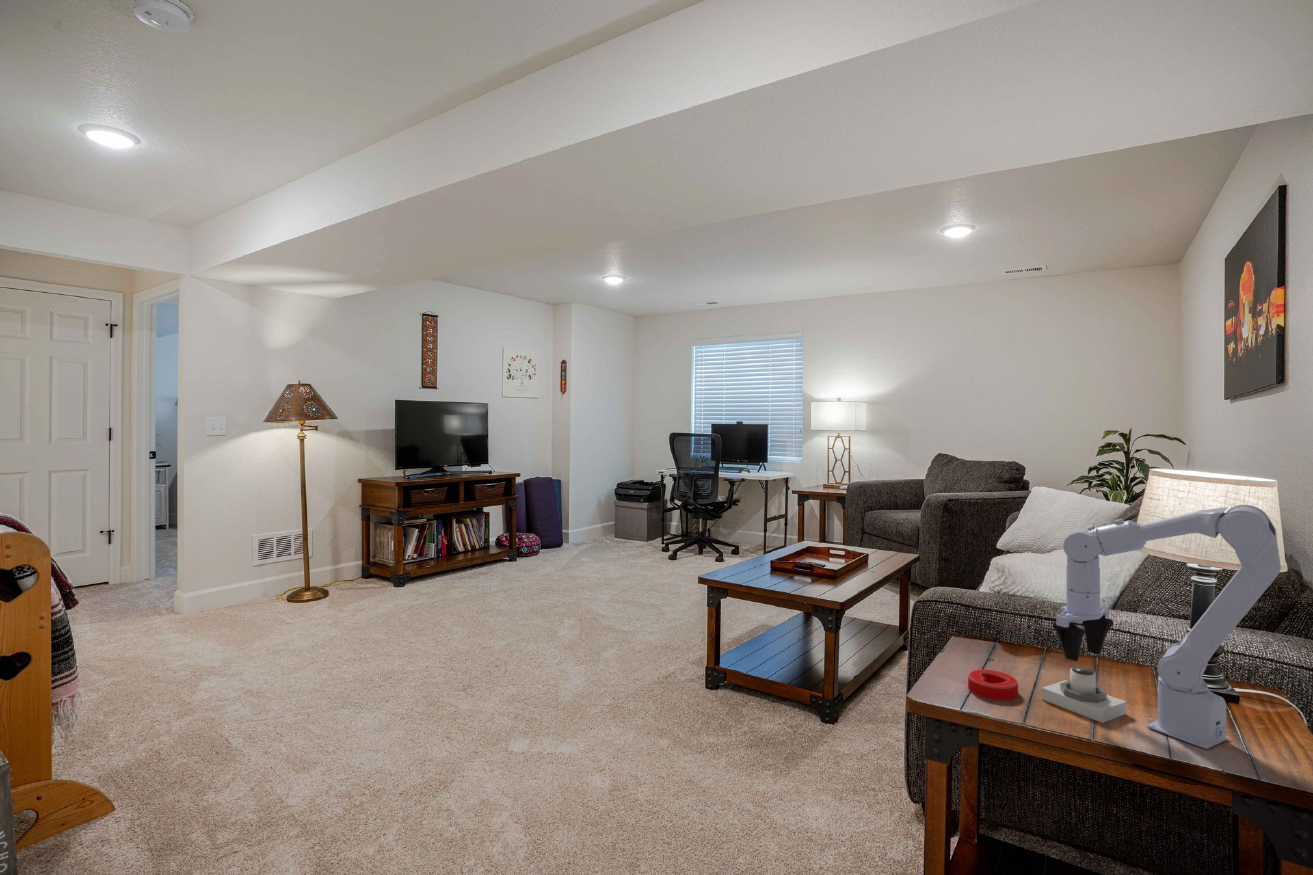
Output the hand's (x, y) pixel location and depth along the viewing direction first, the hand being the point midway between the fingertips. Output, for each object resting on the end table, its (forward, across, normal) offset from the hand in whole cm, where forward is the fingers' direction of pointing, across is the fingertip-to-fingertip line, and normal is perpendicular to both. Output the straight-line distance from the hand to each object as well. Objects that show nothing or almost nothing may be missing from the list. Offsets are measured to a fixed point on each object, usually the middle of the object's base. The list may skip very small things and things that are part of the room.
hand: (1083, 655), depth 132 cm
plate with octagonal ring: (+10, 0, 0) cm, 10 cm away
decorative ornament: (+11, +9, -14) cm, 20 cm away
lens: (+8, 0, 0) cm, 8 cm away
